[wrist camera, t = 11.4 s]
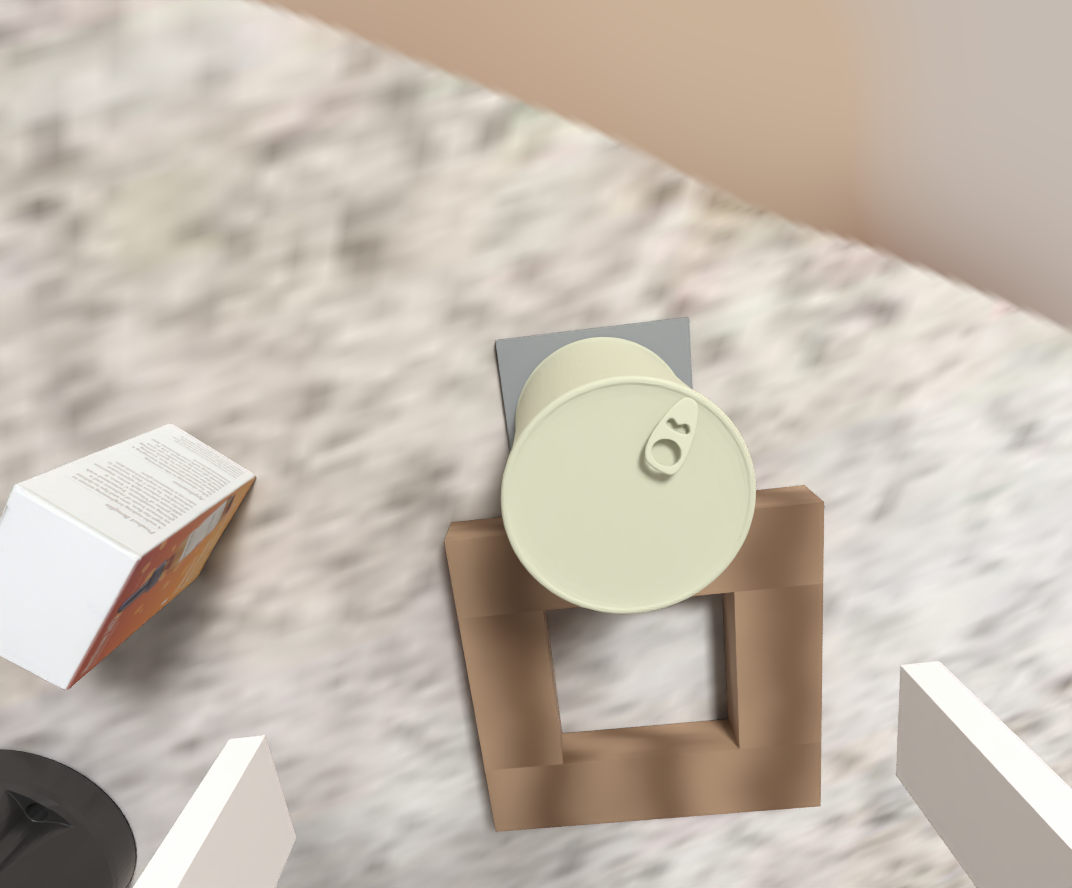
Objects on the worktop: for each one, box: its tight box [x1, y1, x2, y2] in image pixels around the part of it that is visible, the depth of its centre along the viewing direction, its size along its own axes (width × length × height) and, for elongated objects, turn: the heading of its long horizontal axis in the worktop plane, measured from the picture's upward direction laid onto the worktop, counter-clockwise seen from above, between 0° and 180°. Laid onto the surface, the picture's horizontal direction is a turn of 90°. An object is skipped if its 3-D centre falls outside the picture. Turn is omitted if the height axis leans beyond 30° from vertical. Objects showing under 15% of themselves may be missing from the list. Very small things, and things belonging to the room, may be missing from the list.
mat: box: [495, 317, 692, 450], centre depth 33 cm, size 10×10×1 cm
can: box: [501, 337, 756, 614], centre depth 27 cm, size 9×9×12 cm
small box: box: [0, 423, 256, 690], centre depth 30 cm, size 8×6×10 cm
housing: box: [444, 485, 824, 832], centre depth 36 cm, size 20×20×2 cm
